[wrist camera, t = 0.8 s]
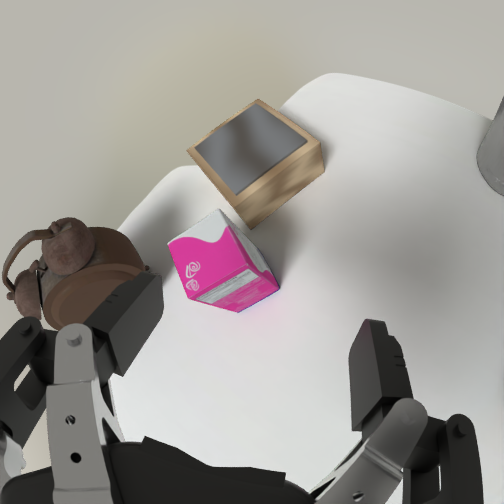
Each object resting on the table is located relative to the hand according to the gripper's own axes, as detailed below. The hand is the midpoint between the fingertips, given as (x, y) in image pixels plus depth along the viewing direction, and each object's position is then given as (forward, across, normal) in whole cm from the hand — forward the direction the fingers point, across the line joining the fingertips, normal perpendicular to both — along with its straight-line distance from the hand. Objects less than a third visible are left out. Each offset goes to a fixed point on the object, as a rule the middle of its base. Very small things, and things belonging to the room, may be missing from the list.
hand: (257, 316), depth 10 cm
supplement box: (+19, +3, +12) cm, 22 cm away
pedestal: (+29, +4, +1) cm, 29 cm away
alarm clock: (+18, +19, +18) cm, 32 cm away
